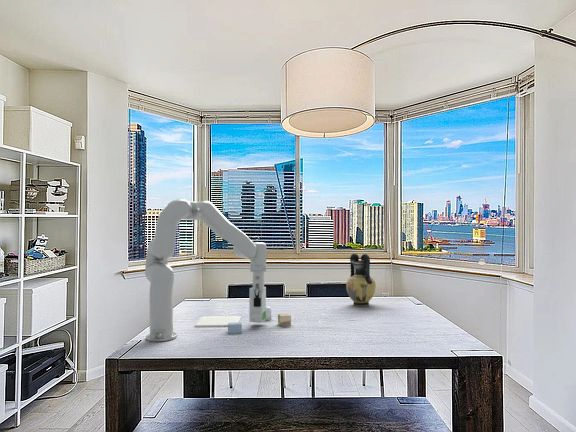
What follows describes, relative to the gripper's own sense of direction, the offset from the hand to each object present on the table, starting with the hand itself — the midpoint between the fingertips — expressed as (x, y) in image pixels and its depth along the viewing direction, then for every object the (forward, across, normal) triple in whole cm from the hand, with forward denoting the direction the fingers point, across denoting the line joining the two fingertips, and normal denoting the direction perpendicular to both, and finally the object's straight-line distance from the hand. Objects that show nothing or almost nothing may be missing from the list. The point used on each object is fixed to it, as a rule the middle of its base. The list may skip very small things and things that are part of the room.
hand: (257, 304), depth 209 cm
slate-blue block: (+10, -13, +9) cm, 19 cm away
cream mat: (+10, +8, +19) cm, 23 cm away
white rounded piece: (+9, +13, -4) cm, 17 cm away
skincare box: (+8, 0, 0) cm, 8 cm away
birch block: (+10, 0, -13) cm, 16 cm away
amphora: (+8, +49, -58) cm, 76 cm away
